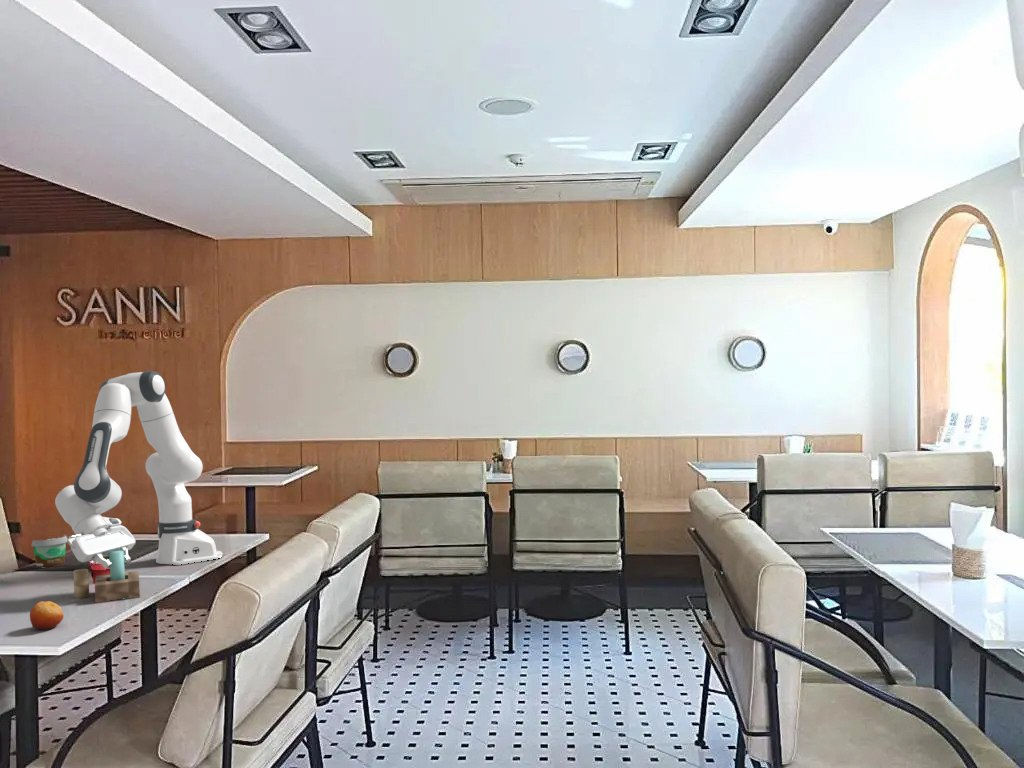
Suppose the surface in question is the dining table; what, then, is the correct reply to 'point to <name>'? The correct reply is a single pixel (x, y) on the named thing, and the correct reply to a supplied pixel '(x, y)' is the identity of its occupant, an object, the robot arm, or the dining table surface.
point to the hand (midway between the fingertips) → (118, 564)
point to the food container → (50, 551)
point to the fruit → (46, 615)
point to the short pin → (81, 583)
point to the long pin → (117, 565)
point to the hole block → (117, 587)
